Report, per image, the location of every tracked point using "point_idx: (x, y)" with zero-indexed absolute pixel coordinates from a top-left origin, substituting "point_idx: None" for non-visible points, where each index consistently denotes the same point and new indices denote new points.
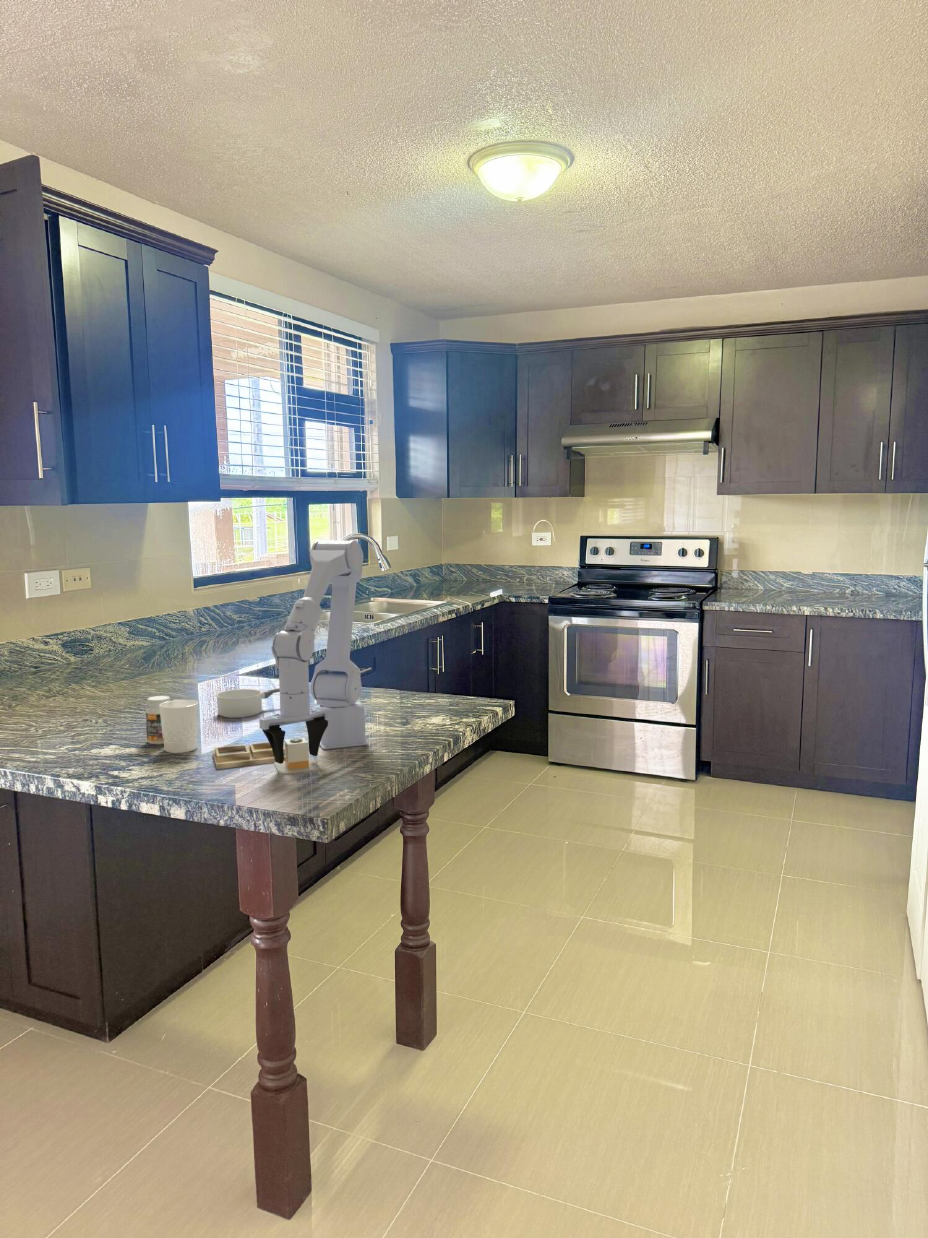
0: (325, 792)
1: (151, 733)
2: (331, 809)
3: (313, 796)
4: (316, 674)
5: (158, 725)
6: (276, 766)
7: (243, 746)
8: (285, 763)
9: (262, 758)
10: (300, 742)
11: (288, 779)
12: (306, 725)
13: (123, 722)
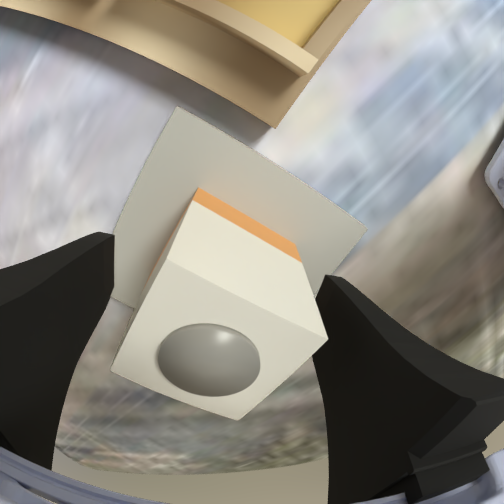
0: (137, 440)
1: None
2: (105, 465)
3: (104, 433)
4: None
5: None
6: (137, 186)
7: None
8: (194, 194)
9: (144, 38)
10: (206, 396)
11: (104, 332)
12: (424, 377)
13: None
